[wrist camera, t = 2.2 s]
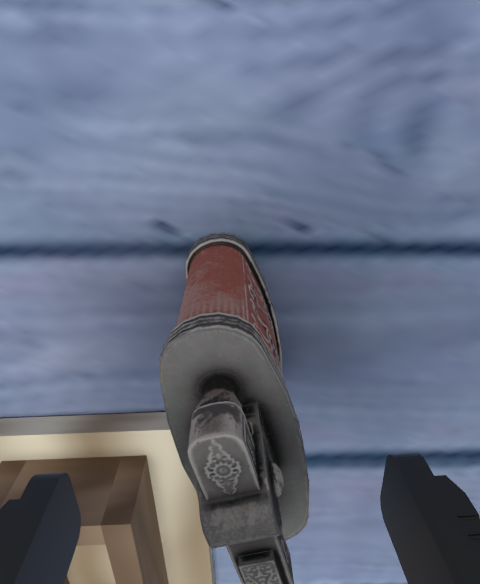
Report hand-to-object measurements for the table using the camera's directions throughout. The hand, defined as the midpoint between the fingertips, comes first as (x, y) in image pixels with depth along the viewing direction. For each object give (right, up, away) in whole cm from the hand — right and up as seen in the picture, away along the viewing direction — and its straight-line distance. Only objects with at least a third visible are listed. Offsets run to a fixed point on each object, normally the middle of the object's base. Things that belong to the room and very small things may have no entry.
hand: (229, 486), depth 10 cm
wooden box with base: (-8, -8, +13) cm, 17 cm away
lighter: (0, +4, +8) cm, 9 cm away
